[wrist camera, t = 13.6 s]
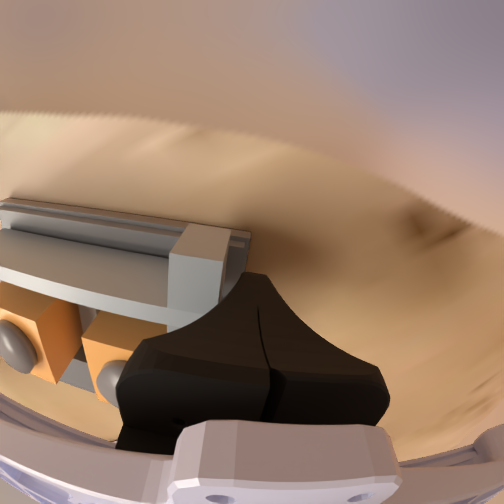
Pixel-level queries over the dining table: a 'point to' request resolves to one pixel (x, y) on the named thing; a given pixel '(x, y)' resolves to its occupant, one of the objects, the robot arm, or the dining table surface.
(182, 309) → the cover bar
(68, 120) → the dining table surface
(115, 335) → the block
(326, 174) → the dining table surface
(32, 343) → the orange knob block
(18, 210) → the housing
